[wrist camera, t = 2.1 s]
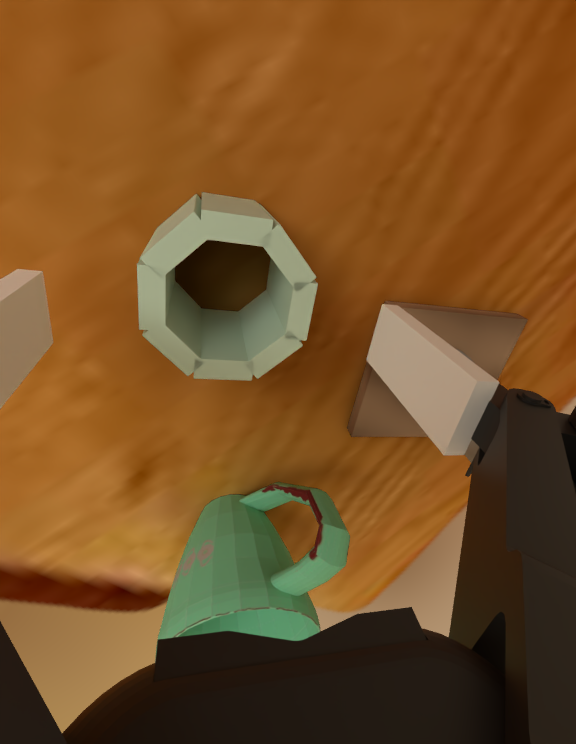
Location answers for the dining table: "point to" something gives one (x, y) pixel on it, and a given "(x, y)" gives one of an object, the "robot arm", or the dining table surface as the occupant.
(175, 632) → the mug
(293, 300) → the pale green hollow tube
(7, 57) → the dining table surface
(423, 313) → the shaft block
